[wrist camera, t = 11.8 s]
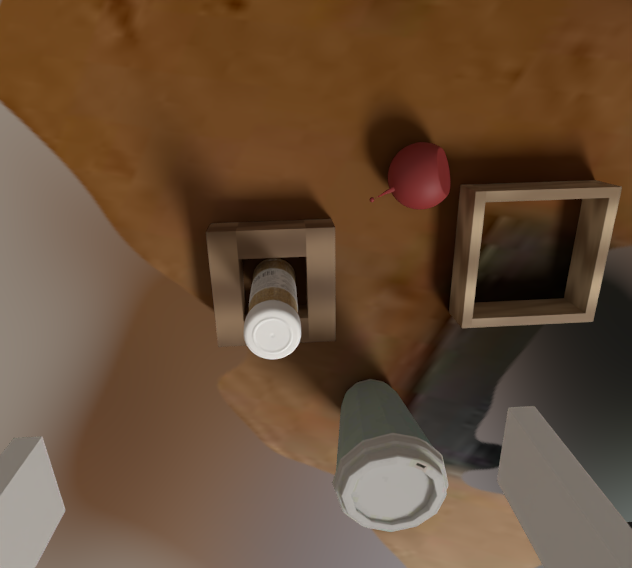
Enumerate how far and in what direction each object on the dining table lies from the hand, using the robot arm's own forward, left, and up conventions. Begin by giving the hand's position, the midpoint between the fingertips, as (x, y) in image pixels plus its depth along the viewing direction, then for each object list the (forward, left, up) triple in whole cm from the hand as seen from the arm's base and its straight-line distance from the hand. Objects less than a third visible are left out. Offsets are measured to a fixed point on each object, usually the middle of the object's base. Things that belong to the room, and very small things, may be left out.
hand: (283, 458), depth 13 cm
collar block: (+7, -1, -35) cm, 36 cm away
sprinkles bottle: (+7, -1, -36) cm, 36 cm away
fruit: (-3, +12, -36) cm, 38 cm away
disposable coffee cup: (+23, +9, -36) cm, 43 cm away
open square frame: (+5, +25, -35) cm, 44 cm away
